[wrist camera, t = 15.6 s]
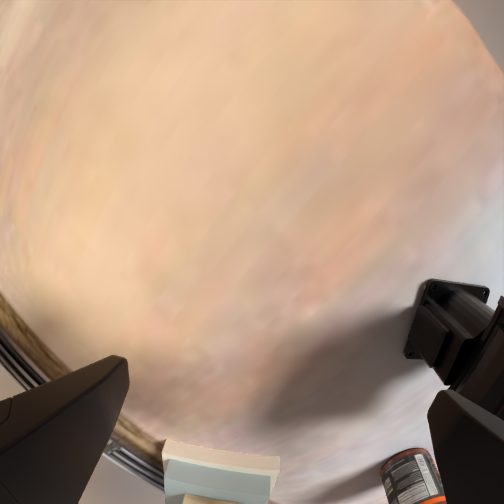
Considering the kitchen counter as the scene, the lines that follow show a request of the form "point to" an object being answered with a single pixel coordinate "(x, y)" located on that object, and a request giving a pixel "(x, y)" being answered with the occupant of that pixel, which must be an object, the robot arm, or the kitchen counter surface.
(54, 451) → the robot arm
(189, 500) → the maple cube
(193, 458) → the bottom block
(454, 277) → the kitchen counter surface
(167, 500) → the top block
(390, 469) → the supplement bottle
